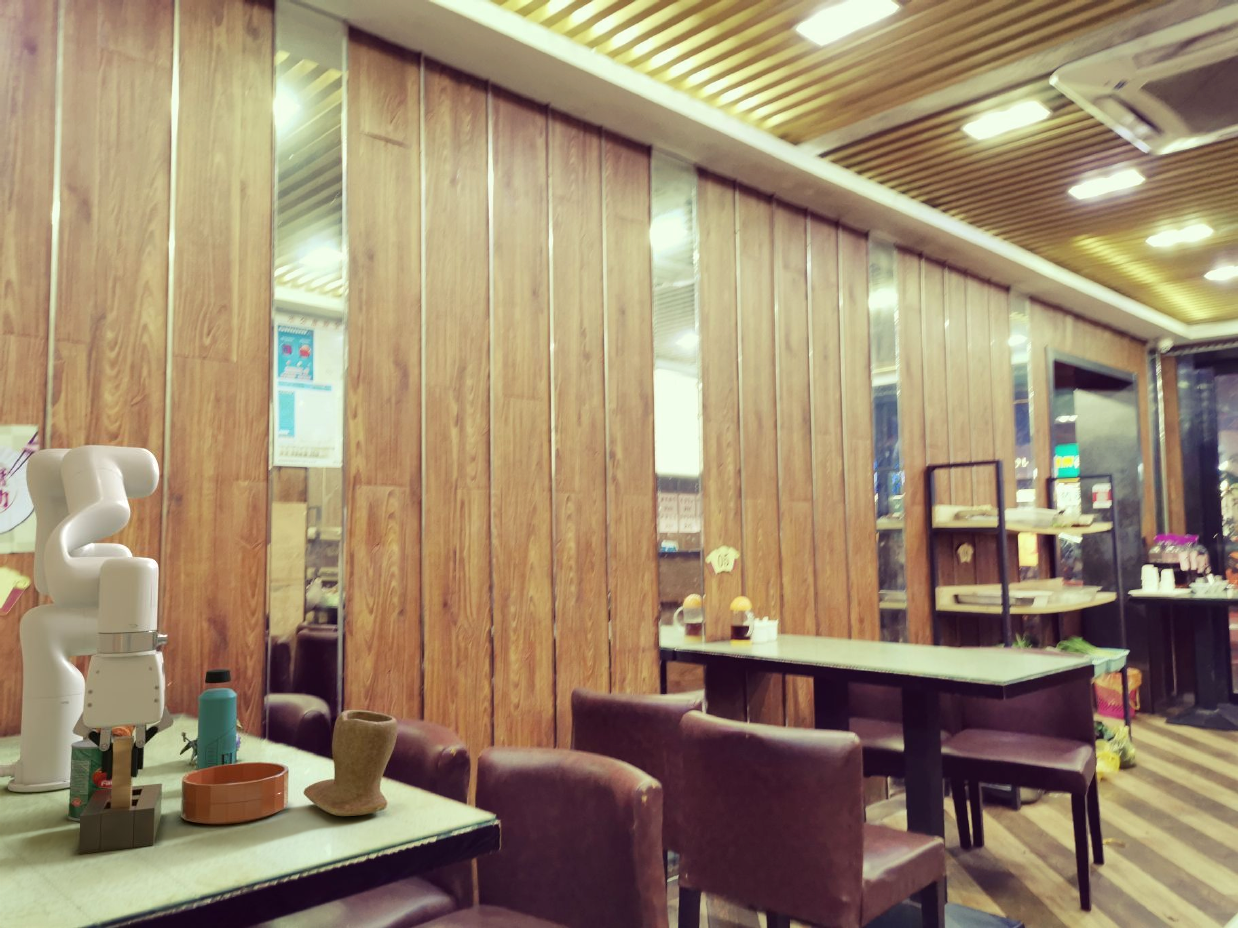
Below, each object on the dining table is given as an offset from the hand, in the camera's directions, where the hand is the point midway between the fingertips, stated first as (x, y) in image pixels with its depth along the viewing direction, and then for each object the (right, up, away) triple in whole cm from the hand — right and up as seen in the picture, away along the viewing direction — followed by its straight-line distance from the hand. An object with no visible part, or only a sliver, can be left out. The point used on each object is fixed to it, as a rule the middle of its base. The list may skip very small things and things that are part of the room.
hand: (122, 775), depth 130 cm
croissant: (-41, -17, +72) cm, 84 cm away
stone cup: (+29, -10, +14) cm, 33 cm away
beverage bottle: (+1, -12, +29) cm, 31 cm away
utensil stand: (-1, -9, +2) cm, 9 cm away
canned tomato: (-11, -11, +13) cm, 20 cm away
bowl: (+11, -10, +12) cm, 19 cm away
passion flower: (-9, -14, +49) cm, 51 cm away
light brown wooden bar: (0, -8, -1) cm, 8 cm away
